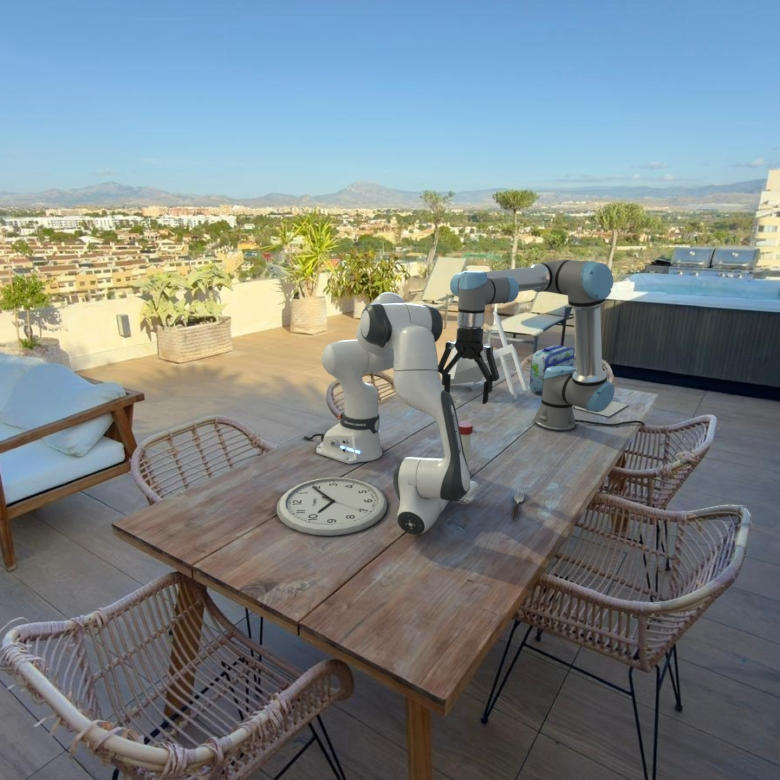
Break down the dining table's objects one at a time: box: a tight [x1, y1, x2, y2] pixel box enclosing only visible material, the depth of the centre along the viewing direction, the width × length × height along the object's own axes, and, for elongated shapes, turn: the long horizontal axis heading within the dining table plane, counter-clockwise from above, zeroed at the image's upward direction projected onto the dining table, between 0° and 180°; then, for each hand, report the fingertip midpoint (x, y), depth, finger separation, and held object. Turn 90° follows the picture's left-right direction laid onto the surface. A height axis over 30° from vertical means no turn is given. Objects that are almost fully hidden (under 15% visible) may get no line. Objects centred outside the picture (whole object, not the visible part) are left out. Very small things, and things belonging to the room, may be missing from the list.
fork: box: [512, 487, 526, 521], centre depth 143 cm, size 3×16×2 cm, turn 160°
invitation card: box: [573, 400, 629, 418], centre depth 226 cm, size 21×1×15 cm
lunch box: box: [529, 345, 575, 394], centre depth 245 cm, size 26×11×21 cm, turn 134°
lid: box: [458, 420, 474, 435], centre depth 158 cm, size 5×5×2 cm
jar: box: [461, 433, 472, 470], centre depth 160 cm, size 4×4×16 cm
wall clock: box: [276, 476, 388, 537], centre depth 142 cm, size 30×2×30 cm
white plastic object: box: [439, 310, 531, 400], centre depth 245 cm, size 37×45×31 cm
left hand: (449, 473), depth 150 cm, fingers open, 8 cm apart
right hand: (465, 399), depth 155 cm, fingers open, 11 cm apart
